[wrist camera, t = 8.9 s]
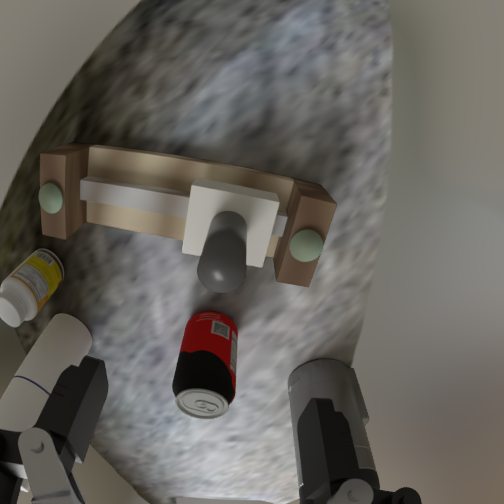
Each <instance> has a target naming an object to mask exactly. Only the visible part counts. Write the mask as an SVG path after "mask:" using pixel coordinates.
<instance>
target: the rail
mask: <svg viewBox="0 0 504 504" xmlns="http://www.w3.org/2000/svg"><path fill="white" fill-rule="evenodd" d="M196 178H201V179H207V180H212V181H217V182H223V183H228V184H233V185H238V186H243V187H248V188H253V189H258V190H262V191H267V192H272V193H276V194H277V196H278V199H279V202H280V203H279V206H278V210H277V214H276V218H275V222H274V225H273V229H272V233H271V237H270V241H269V244H268V248H267V252H266V256H267V257H273V260H274V267H275V274H276V281H277V282H281V283H287V284H293V285H299V286H304V287H309V285H310V282H311V279H312V277H313V274H314V271H315V268H316V265H317V263H318V260H319V257H320V254H321V252H322V250H323V245H324V242H325V239H326V236H327V233H328V230H329V227H330V224H331V221H332V218H333V215H334V212H335V209H336V206H337V204H336V202H335V201H334V200H333V199H332V197H331V196H330V195H329V194H328V193H327V191H326V190H325V189H324V188H323V187H322V185H319V184H315V183H311V182H307V181H303V180H299V179H295V178H290V177H286V176H282V175H277V174H273V173H268V172H264V171H259V170H254V169H250V168H245V167H240V166H235V165H230V164H224V163H219V162H214V161H208V160H202V159H197V158H191V157H185V156H179V155H172V154H166V153H159V152H152V151H145V150H137V149H130V148H122V147H113V146H104V145H94V144H84V143H70V144H66V145H63V146H60V147H57V148H54V149H51V150H49V151H46V152H43V153H40V191H39V202H40V205H41V222H42V235H47V236H51V237H56V238H60V239H65V240H67V239H68V238H69V237H70V236H71V235H72V234H73V233H74V232H75V231H77V230H78V229H79V228H80V227H81V226H82V225H83V224H85V223H86V222H90V223H95V224H100V225H106V226H111V227H116V228H121V229H126V230H132V231H137V232H142V233H147V234H152V235H158V236H163V237H168V238H173V239H178V240H184V233H185V226H186V219H187V212H188V205H189V198H190V192H191V186H192V184H193V182H194V181H195V179H196Z"/></svg>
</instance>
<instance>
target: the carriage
mask: <svg viewBox="0 0 504 504" xmlns="http://www.w3.org/2000/svg"><path fill="white" fill-rule="evenodd" d="M279 203H280V202H279V199H278V196H277V194H276V193H272V192H267V191H262V190H258V189H253V188H248V187H243V186H238V185H233V184H228V183H223V182H217V181H212V180H207V179H201V178H196V179H195V181H194V182H193V184H192V186H191V192H190V198H189V205H188V212H187V219H186V226H185V233H184V241H183V248H182V253H187V254H192V255H197V256H201V257H200V260H199V264H198V267H197V274H198V278H199V280H200V282H201V283H202V284H203V285H204V286H205V287H206V288H208V289H209V290H211V291H214V292H218V293H228V292H232V291H234V290H236V289H238V288H239V287H240V286H241V285H242V284H243V282H244V280H245V278H246V265H250V266H256V267H261V268H262V267H263V263H264V259H265V256H266V252H267V248H268V244H269V241H270V237H271V233H272V229H273V225H274V222H275V218H276V214H277V210H278V206H279Z"/></svg>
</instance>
